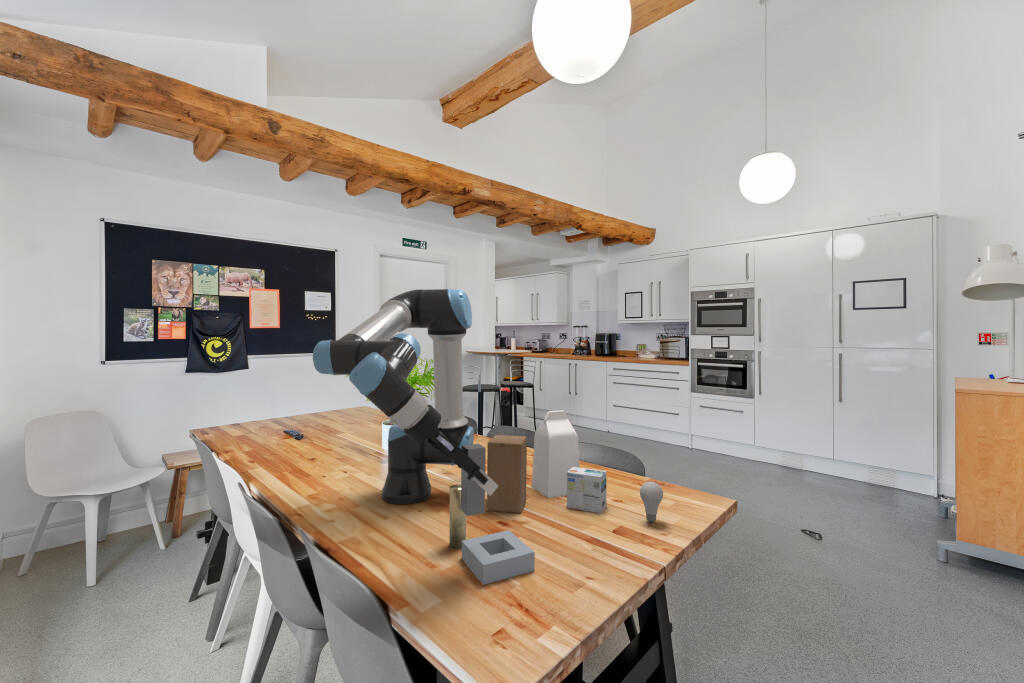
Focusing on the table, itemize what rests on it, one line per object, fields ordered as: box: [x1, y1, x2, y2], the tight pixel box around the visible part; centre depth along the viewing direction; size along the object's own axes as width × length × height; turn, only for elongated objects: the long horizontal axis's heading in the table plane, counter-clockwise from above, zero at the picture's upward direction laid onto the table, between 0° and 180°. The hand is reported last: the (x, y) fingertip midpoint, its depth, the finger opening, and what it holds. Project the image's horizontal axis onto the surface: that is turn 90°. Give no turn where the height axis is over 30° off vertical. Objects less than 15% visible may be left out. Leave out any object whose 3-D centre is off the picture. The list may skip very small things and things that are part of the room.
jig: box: [461, 529, 536, 586], centre depth 96 cm, size 12×12×4 cm
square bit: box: [460, 443, 487, 517], centre depth 94 cm, size 4×4×14 cm
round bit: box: [448, 484, 467, 550], centre depth 105 cm, size 4×4×14 cm
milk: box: [531, 410, 580, 499], centre depth 144 cm, size 12×12×26 cm
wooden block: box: [486, 434, 528, 514], centre depth 130 cm, size 10×10×20 cm
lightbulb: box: [639, 481, 664, 524], centre depth 119 cm, size 6×6×11 cm
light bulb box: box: [566, 467, 608, 514], centre depth 129 cm, size 11×7×11 cm, turn 65°
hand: (489, 486), depth 96 cm, fingers closed on square bit, 4 cm apart
